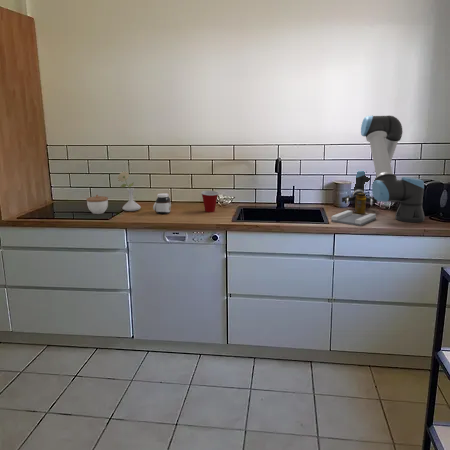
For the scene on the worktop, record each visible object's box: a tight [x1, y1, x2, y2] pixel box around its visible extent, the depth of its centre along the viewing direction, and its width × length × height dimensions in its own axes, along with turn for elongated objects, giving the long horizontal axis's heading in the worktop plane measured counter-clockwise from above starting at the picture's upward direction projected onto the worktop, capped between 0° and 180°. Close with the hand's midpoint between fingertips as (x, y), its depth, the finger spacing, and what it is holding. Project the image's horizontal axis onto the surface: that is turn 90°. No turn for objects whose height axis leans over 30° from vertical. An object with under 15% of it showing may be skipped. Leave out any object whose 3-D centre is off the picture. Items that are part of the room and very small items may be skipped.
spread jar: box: [152, 192, 172, 215], centre depth 277 cm, size 12×11×12 cm
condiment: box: [352, 192, 369, 216], centre depth 270 cm, size 7×8×12 cm
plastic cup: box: [200, 190, 220, 213], centre depth 279 cm, size 11×11×12 cm
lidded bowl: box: [86, 194, 109, 215], centre depth 278 cm, size 13×13×11 cm
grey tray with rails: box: [330, 209, 377, 227], centre depth 253 cm, size 17×20×3 cm
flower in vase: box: [117, 170, 142, 212], centre depth 282 cm, size 13×11×25 cm
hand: (359, 202), depth 267 cm, fingers open, 13 cm apart
